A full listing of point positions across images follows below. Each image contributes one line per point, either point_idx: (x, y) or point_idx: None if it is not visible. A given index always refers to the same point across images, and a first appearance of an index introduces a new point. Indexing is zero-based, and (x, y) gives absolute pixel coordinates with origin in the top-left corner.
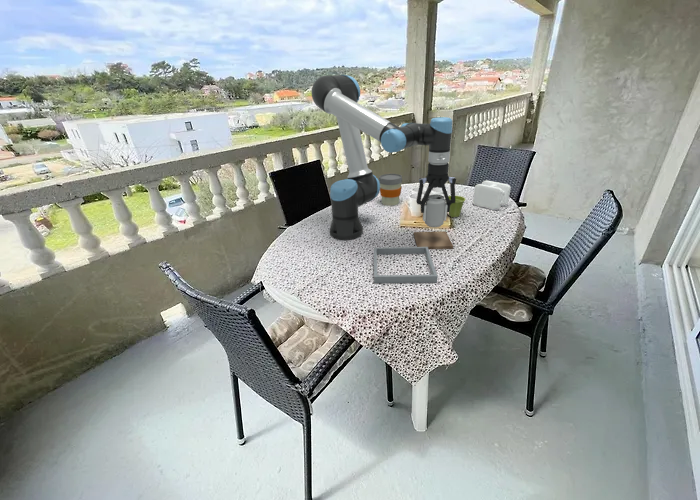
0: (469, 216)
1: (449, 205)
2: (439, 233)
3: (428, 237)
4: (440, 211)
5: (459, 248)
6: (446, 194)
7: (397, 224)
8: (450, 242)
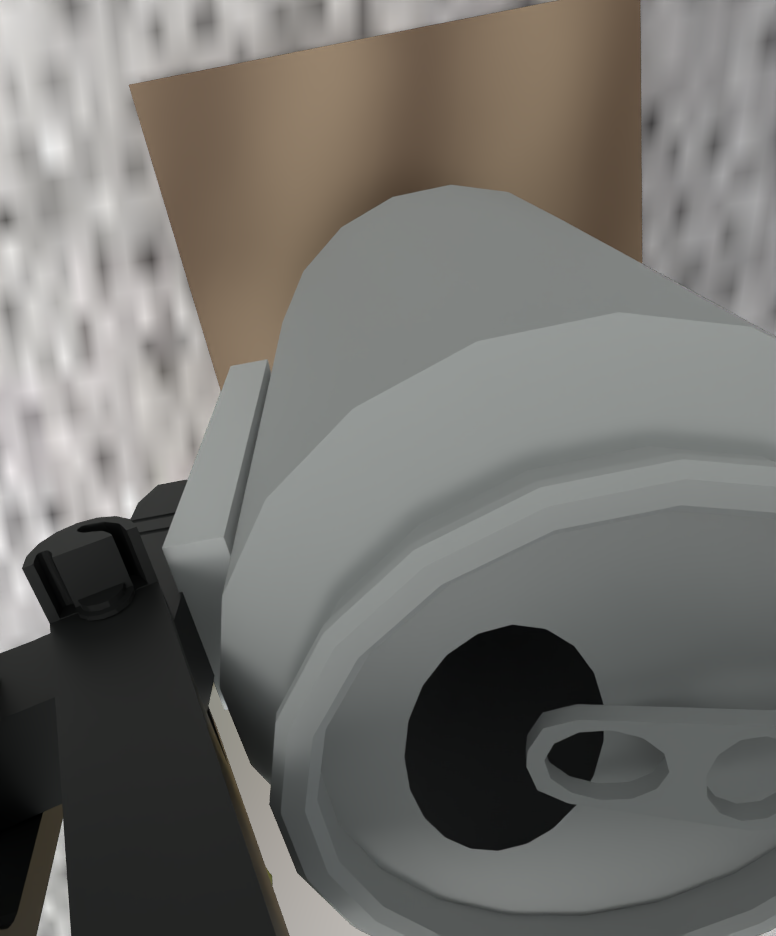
0: (59, 875)
1: (90, 523)
2: None
3: None
4: (369, 295)
5: (55, 115)
6: (137, 919)
7: None
8: (178, 207)
